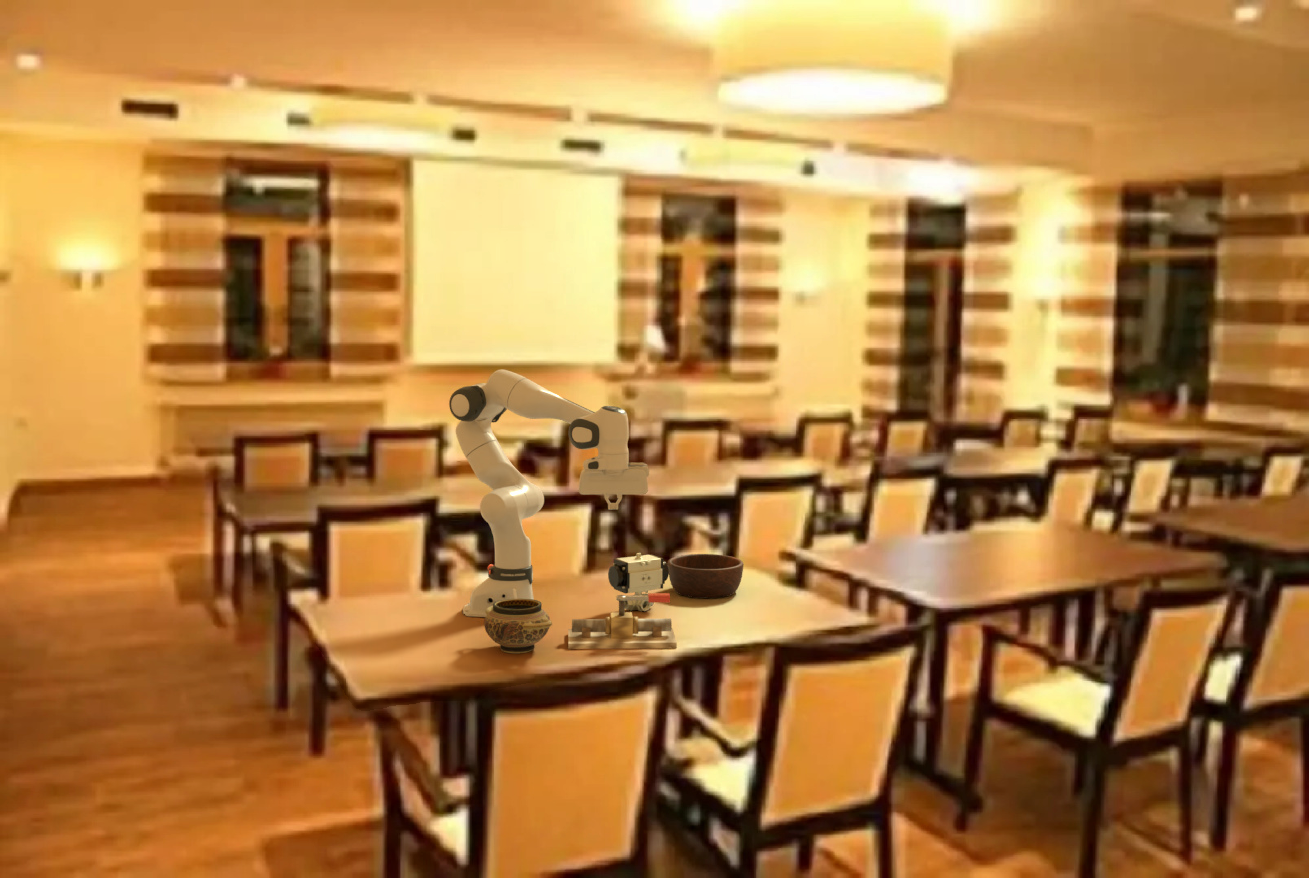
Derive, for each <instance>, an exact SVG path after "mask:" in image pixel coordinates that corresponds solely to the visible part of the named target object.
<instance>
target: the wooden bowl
mask: <svg viewBox="0 0 1309 878" xmlns="http://www.w3.org/2000/svg"><path fill="white" fill-rule="evenodd" d="M667 566H668V570H669V575H668V578H669V581H670V585H671V587H672V589H673V590H674V592H675V593H677V594H679V595H681V596H683V597H687V596H688V598H696V599H718V598H726V597H729V596H732V595H734V594H735V593H736V592H737V590H738V589H739V586H740V585H741V582H742V577H743V572H744V562H743V560H741V559H739V558H737V557H734V556H729V555H723V554H714V553H692V554H683V555H682V554H681V555H677V556H674V557H673V556H672V557H671V558H669V559H668V560H667Z"/></svg>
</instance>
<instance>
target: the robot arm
mask: <svg viewBox="0 0 1309 878" xmlns="http://www.w3.org/2000/svg"><path fill="white" fill-rule="evenodd" d="M448 401H449V403H448V405H449V410H450V413H451V415H452V416H453V417H454V418H455V419H457V420H458V421H459V422H458V424H457V425H456V427H455V435H456V439H457V441H458V444H459V446H460V449H461V451H462V453H463V455H464V457H465V459H466V461H467V463H468V464H469V466H470V467H471V469H472V471H473V473H474V475H475V477H476V479H478V481H480V482H481V483H483V484H485V485H486V486H488V487H489V488H491V491H490V492H488V493H486V495H484V496H483V497H482V498H481V500H480V502H479V503H480V504H479V511H480V514H481V517H482V518H483V520H484V521H485V522H486V523H488V525H489V528H490V529H491V534H492V536H493V543H494V564H492V563H491V564H488V566H487V571H488V572H487V573H488V578H487V579H485V580H484V581H482V582H481V583H480V584H479V585H477V586H476V587H474V589H473V590H472V592H471V595H470V599H469V603H467V604H465V605H464V606H463V608H462V614H463V615H464V614H465V615H464V616H466V617H476V618H477V617H481V618H485V617H486V615H487V614H486V609H487V608H488V607H490V606H493V603H495V602H497V601H501V600H507V599H533V600H535V599H534V592H533V585H532V584H533V581H534V569H533V564H532V542H531V539H530V537H529V536H527V535H526V533H525V531H524V527H523V520H524V519H528V518H530V517H531V518H532V517H533V516H534V515H536V514H537V513H538V512H539V511H541V509H542V508H543V506H544V504H545V495H544V492H543V491H542V488H541V487H539V486H538V485H536V484H535V483H533V482H531V481H529V480H528V479H527V478H526V477H525V476H524V475H523V474H522V473H521V472H520V471H519V470H518V469H517V468H516V467H515V466H514V464H513V462H511V461H510V459H509V458H508V455H507V454H506V453H505V450H504V449H503V447H502V446H501V444H500V443H499V441H498V439H497V437H496V435H495V434H494V431H493V430H492V423H497V422H498V421H499V419H500V418H501V416H502V415H504V413H505V412H506V411H507V410H508V411H510V412H512V413H513V414H515V415H517V416H520V417H523V418H526V419H529V420H531V419H532V420H535V419H536V420H538V419H549V420H550V419H553V420H558V421H562V422H566V423H567V424H570V425H569V427H568V433H567V434H568V439H569V442H570V443H571V445H572V446H573V447H574V448H576V449H578V450H584V451H586V450H592V449H597V451H598V453H597V456H593V457H590V458H586V459H584V461H583V462H582V467H583V469H581V472H580V474H579V475H580V476H579V481H578V493H579V494H580V495H584V496H585V495H603V496H604V500H605V501H606V503H607V509H608V510H611V511H612V510H613V511H614V510H615V511H616V510H617V511H618V510H619V504H620V502H621V501H622V499H623V495H647V494H648V491H649V486H648V485H649V484H648V483H649V482H648V478H649V475H650V467H649V466H648V464H646V463H645V462H630V461H629V459H630V458H629V457H630V453H629V448H628V441H629V438H630V433H629V432H630V429H629V428H630V427H629V418H628V413H627V411H626V410H625V409H623V408H621V407H618V406H614V405H612V406H611V405H603V406H601V407H600V408H599V409H598V410H596V411H592V410H591V409H588V408H586V407H584V406H582V405H580V404H578V403H575V402H573V401H571V400H569V399H567V398H565V397H563V396H560V395H558V394H556V393H555V392H552V391H550V390H549V389H547V388H545V387H543V386H542V385H539V384H538V383H536V382H535V381H533V380H531V379H529V378H528V377H525V376H524V375H521V374H519V373H516V372H513V371H510V370H507V369H503V368H502V369H497V370H495V371H494V372H492V373H491V374H490V376H489V378H488V379H487V382H484V383H475V384H473V385H467V386H462V387H460V388H458V389H456V390H455V391H454V392H453V393H451V395H450V398H449V400H448ZM610 495H616V498H617V500H616V502H611V501H610V500H609V498H610Z"/></svg>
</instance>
